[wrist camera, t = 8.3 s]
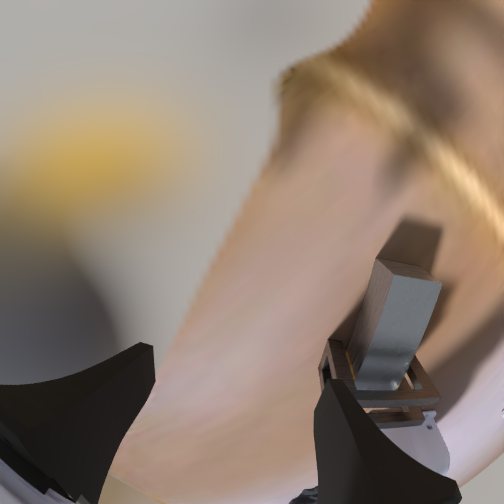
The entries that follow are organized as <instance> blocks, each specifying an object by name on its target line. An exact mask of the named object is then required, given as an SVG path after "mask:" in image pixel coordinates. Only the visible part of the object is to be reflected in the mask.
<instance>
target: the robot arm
mask: <svg viewBox="0 0 504 504" xmlns="http://www.w3.org/2000/svg"><path fill="white" fill-rule="evenodd" d="M155 381H156V380H155V368H154V355H153V346H152V345H148V344H145V343H142V342H139V343H138V344H135V345H134V346H132V347H130V348H128V349H127V350H124V351H122V352H121V353H119V354H117V355H115V356H113V357H111V358H109V359H107V360H105V361H103V362H101V363H99V364H97V365H95V366H92V367H90V368H88V369H86V370H83V371H81V372H78V373H75V374H73V375H69V376H66V377H63V378H59V379H55V380H50V381H46V382H41V383H34V384H24V385H0V504H74V503H75V504H98V500H99V497H100V494H101V490H102V487H103V485H104V482H105V479H106V476H107V473H108V471H109V468H110V466H111V463H112V461H113V458H114V456H115V454H116V452H117V450H118V447H119V445H120V443H121V441H122V439H123V437H124V436H125V434H126V432H127V431H128V429H129V428H130V426H131V424H132V423H133V421H134V420H135V418H136V417H137V415H138V414H139V412H140V410H141V409H142V407H143V406H144V404H145V402H146V401H147V399H148V397H149V395H150V393H151V390H152V388H153V386H154V383H155ZM423 414H424V417H425V419H426V420H425V421H424V422H423V424H422V425H420V426H412V427H402V428H389V429H379V427H378V426H377V425H376V424H375V423H374V422H373V421H372V419H371V418H370V417H369V416H368V415H367V413H366V412H365V411H364V409H363V408H362V407H361V405H360V404H359V403H358V401H357V400H356V399H355V397H354V396H353V394H352V393H351V392H350V390H349V389H348V387H347V386H346V384H345V383H344V382H343V380H342V379H330V378H328V379H327V382H326V384H325V387H324V389H323V391H322V394H321V396H320V399H319V401H318V403H317V406H316V408H315V410H314V441H315V450H316V460H317V470H318V497H317V504H459V503H460V501H461V499H462V496H461V493H460V491H459V488H458V485H457V483H456V481H455V480H453V479H450V478H448V477H446V474H447V472H448V470H449V465H450V455H449V451H448V448H447V446H446V444H445V442H444V440H443V437H442V435H441V433H440V431H439V429H438V427H437V425H436V423H435V421H434V419H433V418H434V417H435V415H436V414H437V413H436V411H425V412H423ZM67 499H68V500H67ZM69 500H70V501H71V502H70V501H69ZM72 502H73V503H72Z"/></svg>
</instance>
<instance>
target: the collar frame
mask: <svg viewBox="0 0 504 504" xmlns="http://www.w3.org/2000/svg"><path fill="white" fill-rule="evenodd" d="M318 370H319V377H320V384H321V391H323V389H324V387H325V384H326V382H327V379H328V378H330V379H342V380H343V382H344V383H345V384H346V386H347V387H348V389H349V390H350V392H351V393H352V394H353V396H354V397H355V399H356V400H357V401H358V403H359V404H360V405H361V407H362V408H390V407H401V408H402V411H403V412H397V413H367V415H368V416H369V417H370V418H371V419H372V421H373V422H374V423H375V424H376V425H377V426H378V427H379V429H389V428H402V427H412V426H420V425H422V424H423V422H424V421H425V420H426V419H425V417H424V414H423V412H422V410H421V408H420V406H423V405H433V404H437V402H438V400H439V399H440V395H439V393H438V392H437V390H436V388H435V387H434V385H433V383H432V382H431V380H430V378H429V377H428V375H427V373H426V372H425V370H424V369H423V367H422V365H421V364H420V362H419V361H418V359H417V358H416V356H415V355H414V357H413V359H412V361H411V363H410V365H409V367H408V369H407V371H406V372H407V374H408V376H409V378H410V380H411V382H412V384H413V386H414V388H415V389H416V390H411V388H410V386H409V384H408V382H407V380H406V378H405V376H404V377H403V379H402V381H401V383H400V385H399V387H398V388H397V390H356V386H355V383H354V379H353V376H352V372H351V369H350V366H349V363H348V359H347V356H346V353H345V350H344V347H343V343H342V341H338V340H329V339H328V340H327V343H326V346H325V349H324V352H323V355H322V358H321V361H320V364H319V367H318Z"/></svg>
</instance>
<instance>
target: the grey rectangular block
mask: <svg viewBox="0 0 504 504" xmlns="http://www.w3.org/2000/svg"><path fill="white" fill-rule="evenodd" d="M442 284H443V283H442V282H440V281H439V280H438V279H436V278H435V277H433V276H432V275H431V274H429V273H428V272H427V271H425V270H424V269H422V268H421V267H420V266H415V265H410V264H405V263H400V262H395V261H389V260H384V259H379V258H375V262H374V266H373V269H372V273H371V277H370V280H369V284H368V287H367V291H366V294H365V298H364V301H363V304H362V307H361V310H360V313H359V317H358V320H357V323H356V326H355V328H354V331H353V334H352V337H351V340H350V343H349V345H348V348H347V350H346V356H347V359H348V363H349V366H350V369H351V372H352V376H353V379H354V383H355V386H356V390H397V388H398V387H399V385H400V383H401V381H402V379H403V377H404V375H405V373H406V371H407V369H408V367H409V365H410V363H411V361H412V359H413V357H414V355H415V353H416V350H417V348H418V346H419V344H420V342H421V339H422V337H423V335H424V332H425V330H426V328H427V325H428V323H429V320H430V318H431V315H432V312H433V310H434V307H435V304H436V302H437V299H438V296H439V293H440V290H441V287H442Z"/></svg>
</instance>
